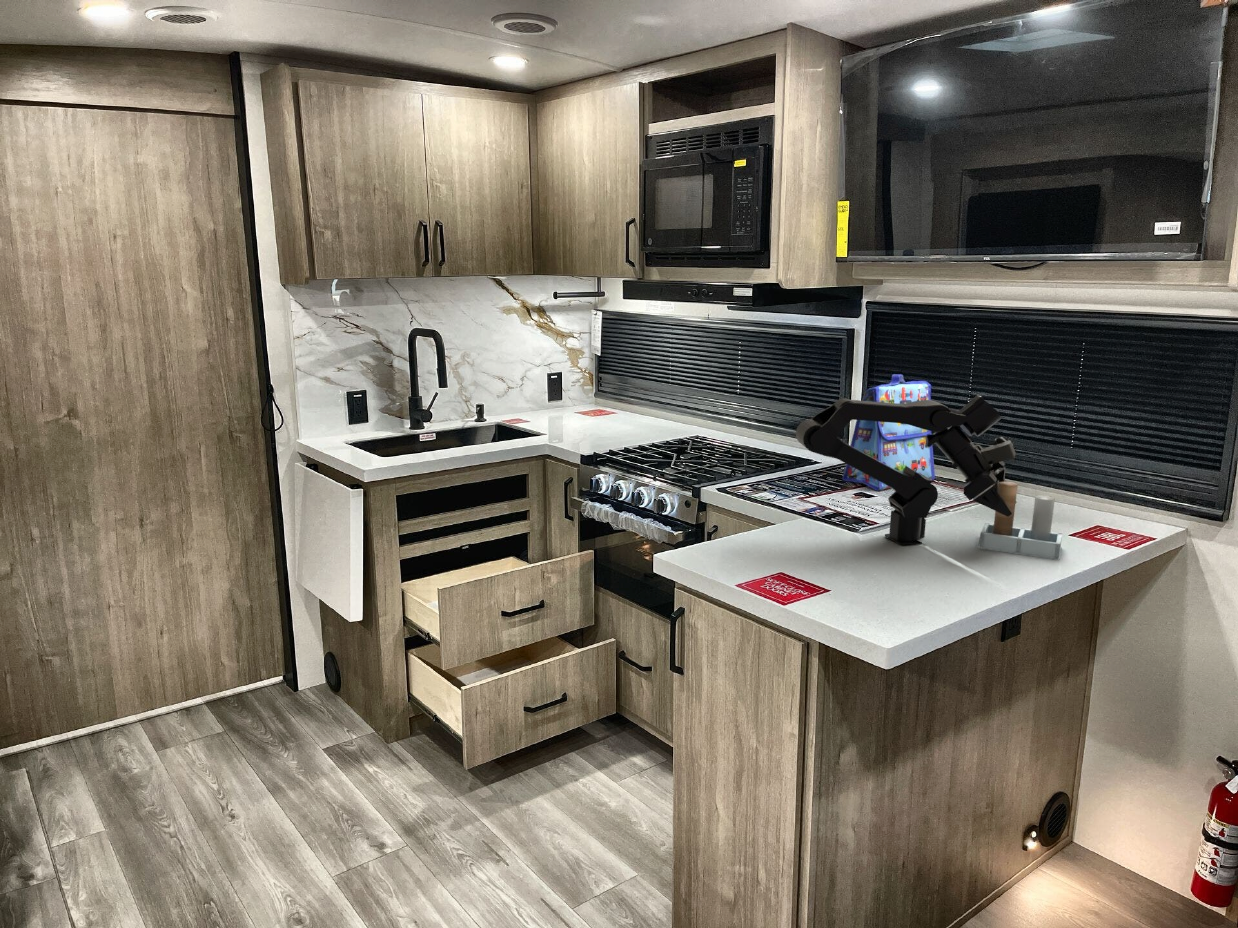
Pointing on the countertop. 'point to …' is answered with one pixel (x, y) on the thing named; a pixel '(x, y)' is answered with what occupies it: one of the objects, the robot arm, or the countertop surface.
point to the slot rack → (1020, 543)
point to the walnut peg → (1008, 492)
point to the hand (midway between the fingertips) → (1012, 509)
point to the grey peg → (1042, 518)
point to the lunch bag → (893, 434)
